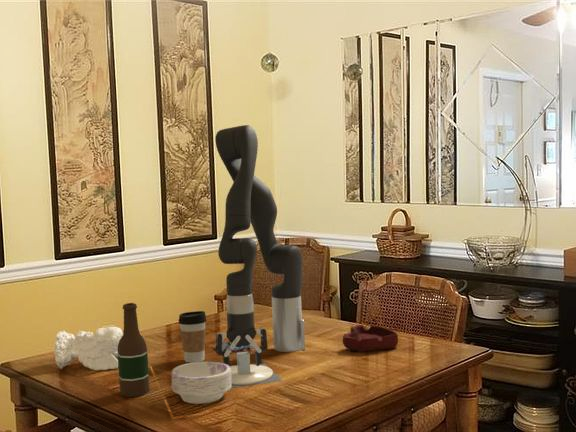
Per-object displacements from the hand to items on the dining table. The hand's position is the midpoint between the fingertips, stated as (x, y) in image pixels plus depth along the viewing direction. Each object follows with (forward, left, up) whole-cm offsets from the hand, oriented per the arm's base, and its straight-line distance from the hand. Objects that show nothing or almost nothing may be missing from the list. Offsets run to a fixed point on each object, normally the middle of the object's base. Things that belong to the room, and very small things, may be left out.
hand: (242, 367), depth 197 cm
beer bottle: (+30, 0, -3) cm, 30 cm away
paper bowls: (+14, +12, -3) cm, 19 cm away
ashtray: (-46, -14, -4) cm, 48 cm away
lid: (0, 0, -2) cm, 2 cm away
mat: (0, 0, -3) cm, 3 cm away
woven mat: (-4, -30, -4) cm, 30 cm away
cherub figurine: (+39, -32, -3) cm, 51 cm away
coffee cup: (+10, -22, -3) cm, 24 cm away
